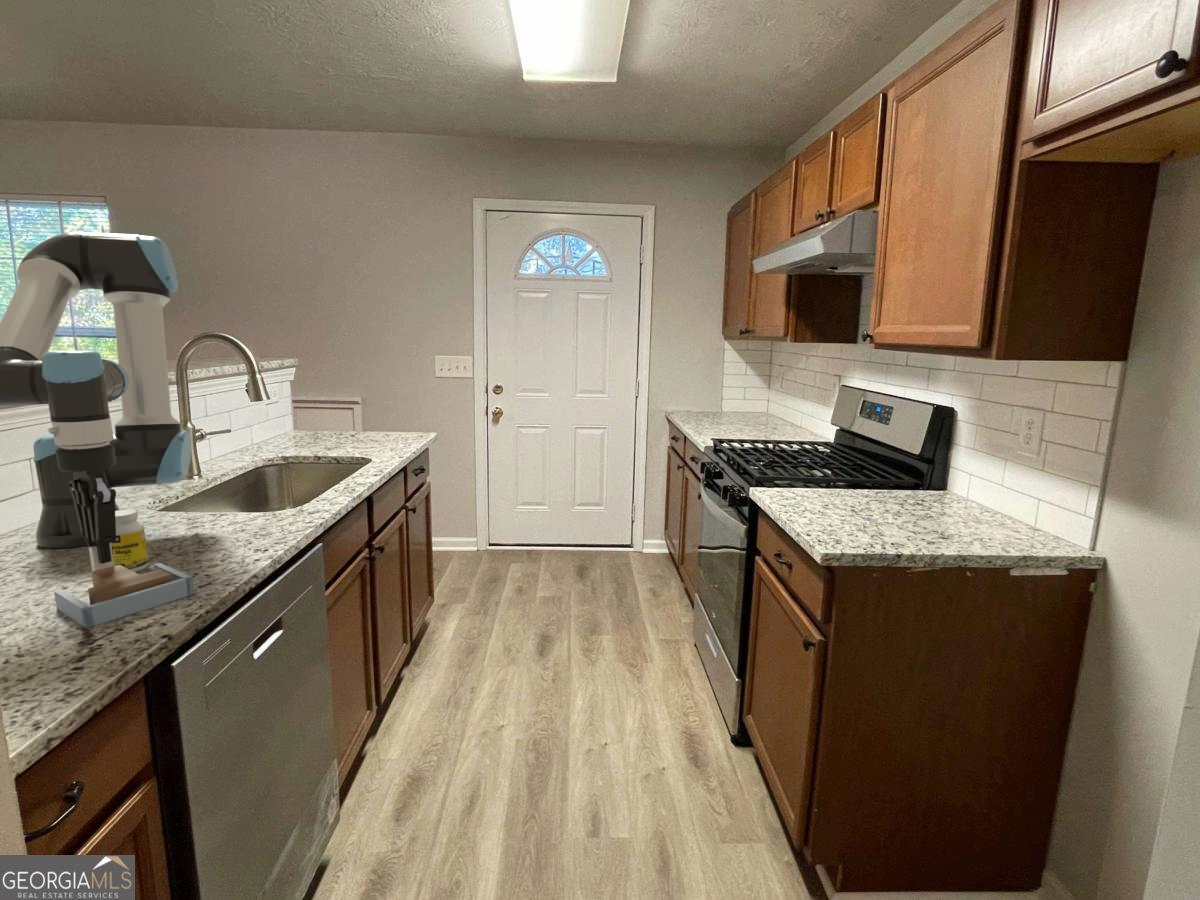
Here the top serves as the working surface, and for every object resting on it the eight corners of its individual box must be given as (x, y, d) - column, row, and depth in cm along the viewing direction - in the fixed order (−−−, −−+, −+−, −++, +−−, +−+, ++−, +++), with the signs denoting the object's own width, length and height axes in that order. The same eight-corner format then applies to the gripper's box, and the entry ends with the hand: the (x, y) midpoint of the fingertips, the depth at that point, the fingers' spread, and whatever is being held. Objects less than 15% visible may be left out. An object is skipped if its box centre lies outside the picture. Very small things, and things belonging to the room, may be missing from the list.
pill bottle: (104, 577, 112) (95, 519, 110) (112, 566, 117) (103, 510, 115) (146, 572, 114) (138, 515, 112) (151, 561, 120) (144, 506, 118)
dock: (56, 608, 99) (54, 591, 99) (162, 578, 112) (160, 562, 111) (86, 628, 93) (83, 609, 92) (194, 593, 105) (192, 577, 105)
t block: (72, 600, 102) (68, 577, 102) (142, 580, 111) (139, 559, 110) (101, 618, 96) (98, 594, 95) (173, 596, 104) (170, 574, 103)
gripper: (41, 443, 102) (63, 577, 107) (71, 452, 95) (93, 595, 100) (96, 437, 108) (115, 564, 113) (128, 445, 102) (146, 580, 106)
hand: (104, 578), depth 106 cm, fingers closed
